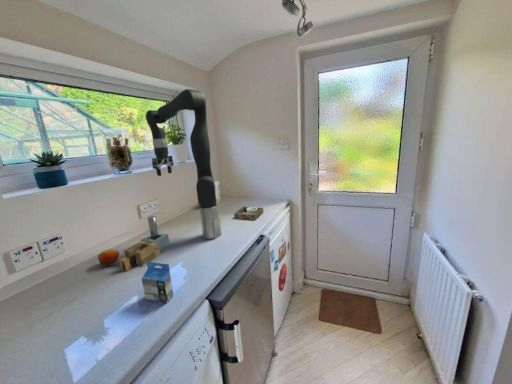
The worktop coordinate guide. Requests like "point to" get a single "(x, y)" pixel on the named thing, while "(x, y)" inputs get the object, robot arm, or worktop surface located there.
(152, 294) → the blue retail carton
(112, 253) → the fruit
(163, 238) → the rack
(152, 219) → the peg
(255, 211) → the teacup
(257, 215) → the cup corral
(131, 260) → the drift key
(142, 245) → the socket block
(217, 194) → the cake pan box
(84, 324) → the worktop surface
